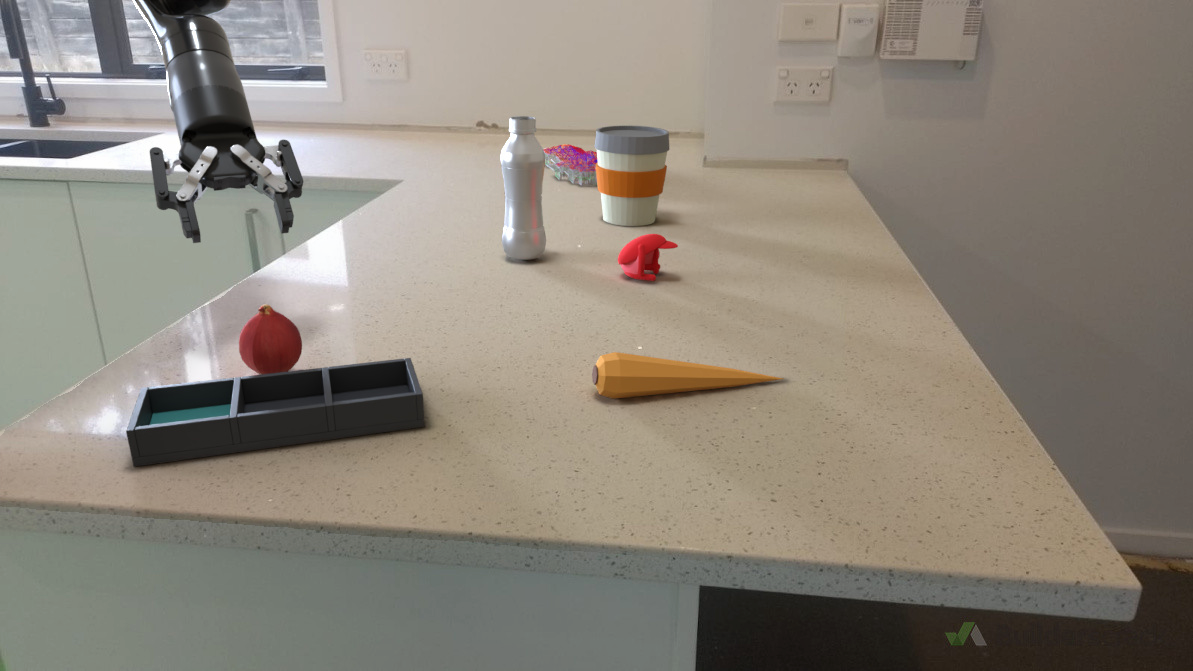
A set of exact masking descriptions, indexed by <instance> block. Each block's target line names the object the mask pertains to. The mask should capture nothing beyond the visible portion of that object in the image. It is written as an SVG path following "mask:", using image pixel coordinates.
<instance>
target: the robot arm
mask: <svg viewBox="0 0 1193 671" xmlns="http://www.w3.org/2000/svg"><path fill="white" fill-rule="evenodd" d="M132 1H133V3H134V5H135V7H136V9H138V11H139V13H140V14H141V16H142V17H143V19H144V20H145V21H146V22H147V24H148V26H149V27H150V29H151V31H152V33H153V35H154V36H155V39H156V41H157V44H158V47H159V49H160V52H161V55H162V61H163V64H164V68H165V72H166V81H167V92H168V96H169V106H170V109H171V111H172V115H173V119H174V123H175V126H176V132H177V136H178V140H179V144H180V149H179V151H177V152H176V151H174V152H172V151H171V152H164V151H163V150H162V148H161V147H157V146H153V147H151V148H149V160H150V166H151V172H152V173H151V174H152V182H153V187H154V196H155V202H156V207H157V208H158V209H159V210H160V211H166V210H169V209H170V210H174V211H175V212H177V213H178V216H179V220H180V225H181V229H182V234H183V236H184V237H185V239H191V240H192V243H193V244H199V243H202V239H201V236H202V235H201V230H200V225H199V221H198V218H197V217H198V216H197V212H196V209H195V204H196V203H197V202H198V200H200V199H201V198H202V197H203V196H204V194H205V192H206V191H207V189H208V188H209V189H212V190H213V191H214V192H215V191H216V192H217V191H223V190H227V189H237V190H239V189H246V187H247V186H249V187H251V188H252V189H254V190H255V191H256V192H257V193H259V194H260V195H265V196H266V197H268V198H269V199H270V200H272V201H273V209H274V213H275V216H276V220H277V223H278V228H279V231H280V233H281V235H282V234H283V235H284V234H289V232H290V228H293V225H294V218H295V215H294V211H293V207H292V204H291V201H290V200H291V199H293V198H294V199H299V198H301V197H302V195H303V186H304V178H303V175H302V172H301V170H300V166H299V164H298V161H297V159H296V156H295V153H294V151H293V150H294V149H293V148H292V145H291V142H290V141H289V140H288V139H280V140H279V141H278V144H277V145H276V144H275V145H268V146H267V145H266V146H264V145H263V144H262V143H261V142H260V141H259V139H258V138H257V134H256V130H255V127H254V124H253V118H252V116H251V112H250V108H249V104H248V100H247V96H246V92H245V90H244V85H243V83H242V80H241V77H240V75H239V73H238V71H237V68H236V65H235V61H234V57H233V53H232V49H231V45H230V42H229V39H228V36H227V33H226V31H225V29H224V28H223V26H222V24H220V23H219V22H218V20H215V19H213V18H212V17H210V16H211V15H214V14H218V13H220V12H223V11H224V10H226V9H227V8H228V7H229V5H230V4H231V1H232V0H132ZM267 159H268V160H270V161H271V162H272V164H274V165H275V166H276V168H280V169H281V172H282V175H283V177H284V180H285V182H284V181H282V179H279V178H278V177H277V176H276V175H275V174H273V172H272V170H271V168H269V167H268V166H267V165H265V164H264V163H265V161H266V160H267ZM176 166H180V167H181V168H182V169H183V170H185V172H187V173H188V174H187V176H186V178H185V180H184V182H183V184H182V185H181V187H180V188H179V189H178V190H177V191H172V190H169V185H168V184H169V183H168V177H167V176H171V175H172V174H173V173H174V172H175V167H176Z"/></svg>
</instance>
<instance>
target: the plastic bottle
mask: <svg viewBox="0 0 1193 671" xmlns="http://www.w3.org/2000/svg"><path fill="white" fill-rule="evenodd" d="M536 122H537V120H536V117H534V116H528V115H517V116H516V115H515V116H510V117H509V127H508V132H509V133H510V136H509V138H508V139H507V141H506V142H505V143H504V145H503V147H502V149H501V151H500V157H499V158H500V164H501V165H500V166H501V167H500V168H501V172H502V179H503V187H504V188H503V190H504V194H505V196H504V202H505V204H504V205H505V206H504V223H503V228H502V235H501V244H502V249H503V252H504V253H505V255H506V256H507V257H508V258H511V259H515V260H526V261H527V260H534V259H535V260H536V259H538V258H540V257H542V256H543V254H544V253H545V250H546V245H547V236H546V230H545V226H544V215H543V214H544V213H543V204H542V202H543V196H542V195H543V184H544V183H543V182H544V175H545V168H546V165H545V158H546V157H545V153H544V150H543V147H542V145H541V143H540V142H539V140H538V139H537V136H535V133H536V132H537V127H536V126H537V123H536Z"/></svg>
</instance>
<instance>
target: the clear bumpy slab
mask: <svg viewBox="0 0 1193 671" xmlns="http://www.w3.org/2000/svg"><path fill="white" fill-rule="evenodd" d="M542 148H543V147H542ZM543 150H544V153H545V157H546V158H545V167H547V168H549V169H550V170H552V171H553V172H554V176H555V177H556V178H557V179H558V180H559V181H570V182H571V184H573V185H577V184H578V185H580V186H581V187H583V186H584V187H585V186H589V185H590V183H593V182H594V186H597V175H596V163H597V162H598V160H597V151H594V150H585V149H583V148H582V147H580V146H575V145H572V144H569V143H567V144H565V143H564V144H559V145H556V146H555V145H553V146H551V147H550V146H548V147H545V148H543ZM550 162H551V163H550ZM585 183H586V184H585Z"/></svg>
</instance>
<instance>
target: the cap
mask: <svg viewBox="0 0 1193 671" xmlns="http://www.w3.org/2000/svg"><path fill="white" fill-rule="evenodd" d="M678 247H679V245H678V244H677V243H676V242H674V241H670V240H667V239H666V237H665V236H663V235H661V234H658V233H647V234H643V235H640V236H637V237H636V238H633V239H632V240H630V241H629V242H627V243H626V244H625V245H624V246H623V247H622V249H621V250H619V251H620V252H619V253H618V255H617V263H618V265H619V266H620V267H621V269H622V271H623V272H624V274H625V275H626V276H627V277H629V278H630V279H635V280H640V281H649V282H655V281H656V279H657V276H656V275H658V274H659V273H660V269H661V264H660V263H659V259H660V257H661V256H660V253H661V252H660V250H673V249H675V248H678ZM645 271H647V272H648V271H649V272H653V274H651V273H645Z"/></svg>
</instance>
